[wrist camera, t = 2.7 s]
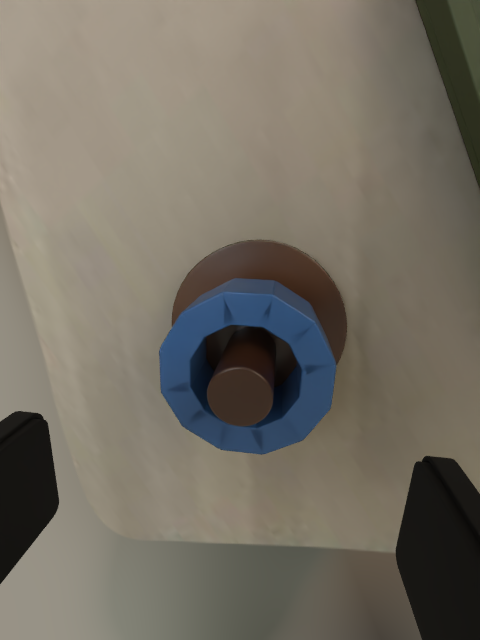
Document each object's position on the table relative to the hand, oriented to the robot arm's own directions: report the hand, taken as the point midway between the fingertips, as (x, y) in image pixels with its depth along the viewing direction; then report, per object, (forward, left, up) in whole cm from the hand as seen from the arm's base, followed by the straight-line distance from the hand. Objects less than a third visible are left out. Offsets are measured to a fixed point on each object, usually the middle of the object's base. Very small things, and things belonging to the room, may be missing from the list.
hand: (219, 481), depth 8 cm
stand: (0, 0, -12) cm, 12 cm away
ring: (0, 0, -8) cm, 8 cm away
